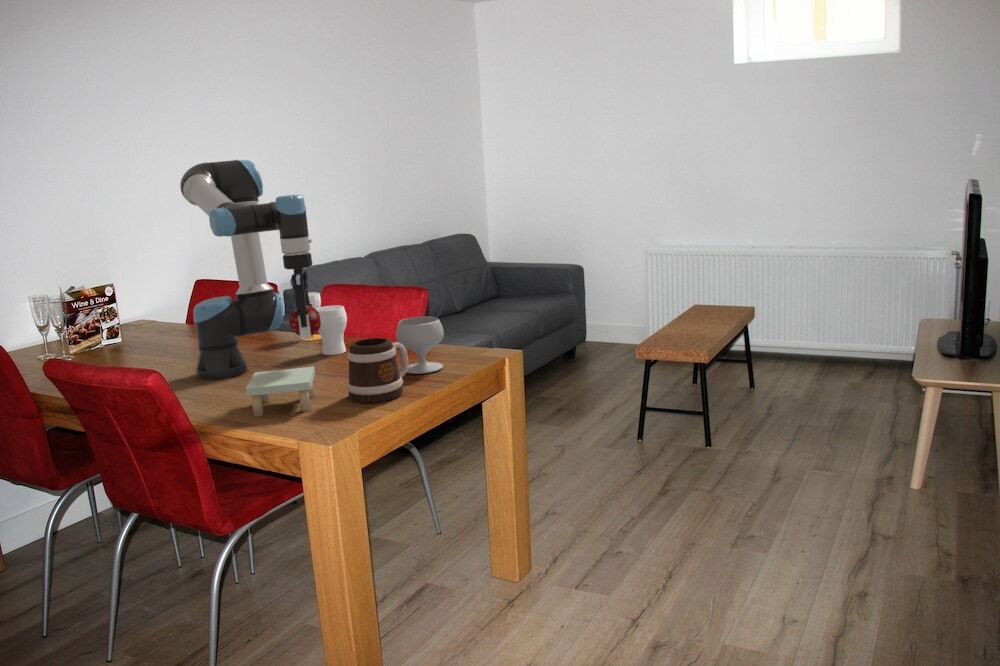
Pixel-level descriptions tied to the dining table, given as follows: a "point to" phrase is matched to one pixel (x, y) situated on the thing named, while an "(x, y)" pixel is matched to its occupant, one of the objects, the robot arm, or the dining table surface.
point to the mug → (375, 370)
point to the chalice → (420, 340)
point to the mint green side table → (281, 386)
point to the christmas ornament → (313, 320)
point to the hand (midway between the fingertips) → (306, 334)
